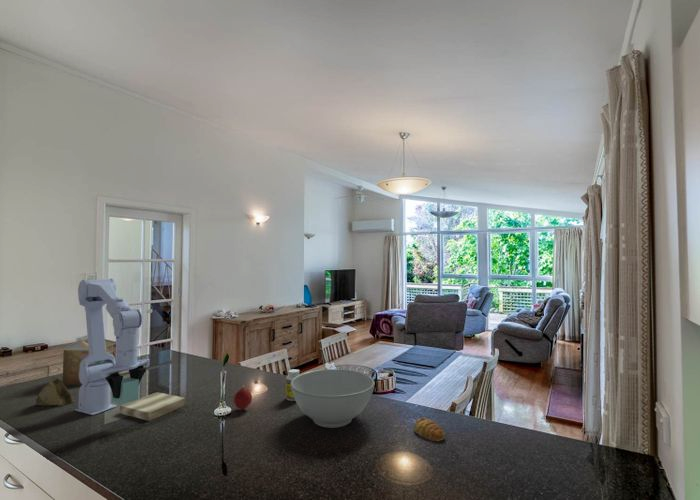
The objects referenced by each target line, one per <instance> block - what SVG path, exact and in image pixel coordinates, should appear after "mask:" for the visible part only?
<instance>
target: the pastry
mask: <svg viewBox="0 0 700 500" xmlns="http://www.w3.org/2000/svg"><path fill="white" fill-rule="evenodd" d="M413 430H414V431H415V433H416V434H417V435H418V436H420V437H421V438H424V439H427V440H430V441H433V442H440V441H443V440H444V439H445V436H446V433H445V431H444V430H443V428H442V427H441V426H440V424H439V425H438V423H437V421H433V420H432V419H427V418H426V417H420V418H417V420H416V421H415V423H414V425H413Z"/></svg>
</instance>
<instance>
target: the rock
mask: <svg viewBox="0 0 700 500" xmlns="http://www.w3.org/2000/svg"><path fill="white" fill-rule="evenodd" d="M62 382H63V381H61V380H60V379H59V378H58V377H53V378H52V379H51V380H50V381H49V382H47V384H46V385H45V386H43V388H42V389H41V390H40V392H39V393H38V394H37V397H36V399H35V404H36V406H37V405H38V406H50V405H58V406H61V405H62V406H66V405H70V404H73V403H75V400H74V397H73V396H72V394H71V392H70V391H69V389H68V388H67V387H66V385H64V384H63V383H62ZM72 402H73V403H72ZM69 403H70V404H69ZM58 406H57V407H58Z"/></svg>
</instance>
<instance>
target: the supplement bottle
mask: <svg viewBox="0 0 700 500" xmlns="http://www.w3.org/2000/svg"><path fill="white" fill-rule="evenodd" d="M287 374H288V375H287V376H286V378H285V381H286V382H285V383H286V385H285V399H286V400H287V401H288V402H289V401H291V402H293V401H294V402H296V400H295V398H294V396H293V393H292V390H291V381H292V380H293V379H294V378H295V377H297V376H298V375H300V369H298V368H297V369H294V368H292V369H289V370H288V372H287Z"/></svg>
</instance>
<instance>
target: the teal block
mask: <svg viewBox="0 0 700 500" xmlns="http://www.w3.org/2000/svg"><path fill="white" fill-rule="evenodd" d="M139 388H140V384H139V379H134V378H130V376H128V377H125V378H124V377H123V379H122V383H121V392H120V398H118V399H117V398H113V394H112V393H111V402H112V403H115V404H119V405H123V404H126V403H129V402H132V401H134V400H137V399H139V396H140V395H139V392H140V391H139V390H140V389H139Z"/></svg>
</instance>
